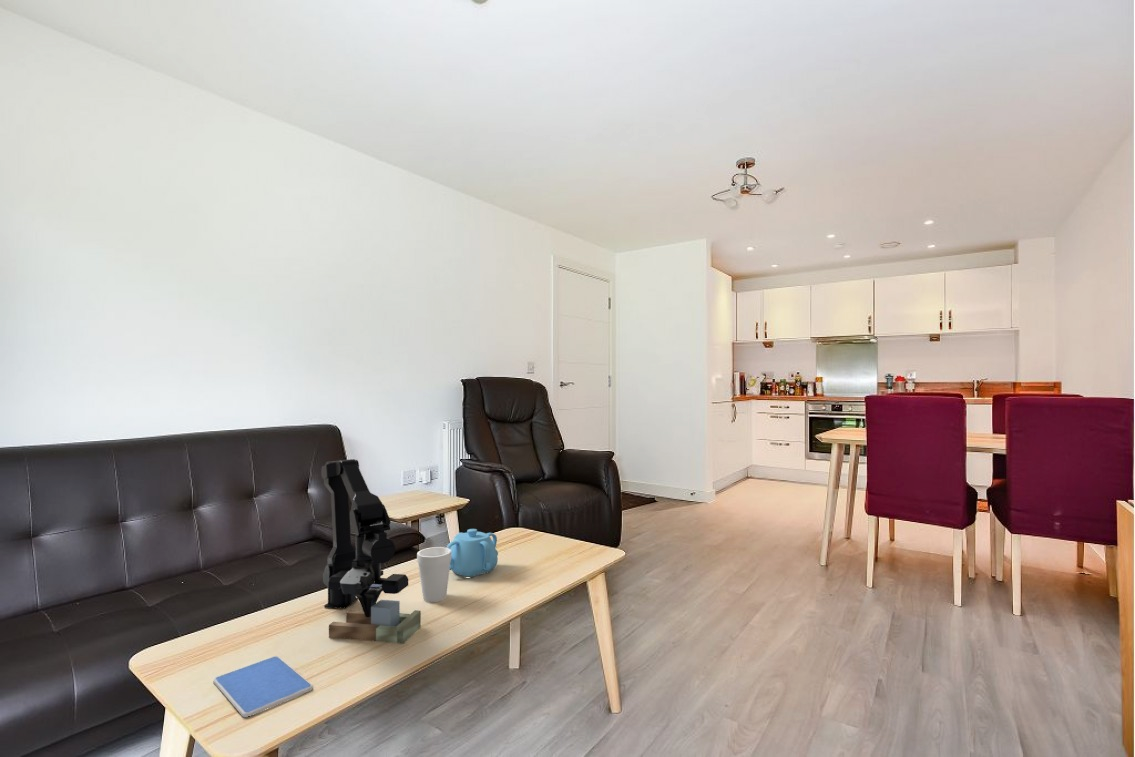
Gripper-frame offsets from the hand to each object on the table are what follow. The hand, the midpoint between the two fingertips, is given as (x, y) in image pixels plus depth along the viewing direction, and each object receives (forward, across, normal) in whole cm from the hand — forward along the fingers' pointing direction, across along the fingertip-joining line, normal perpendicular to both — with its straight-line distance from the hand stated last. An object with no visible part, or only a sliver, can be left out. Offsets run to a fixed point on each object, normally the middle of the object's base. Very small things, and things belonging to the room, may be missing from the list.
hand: (368, 616), depth 129 cm
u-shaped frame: (+4, +1, 0) cm, 4 cm away
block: (+4, +4, 0) cm, 6 cm away
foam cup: (+4, +7, +22) cm, 24 cm away
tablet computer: (+4, -8, -25) cm, 26 cm away
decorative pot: (+4, +10, +44) cm, 45 cm away
